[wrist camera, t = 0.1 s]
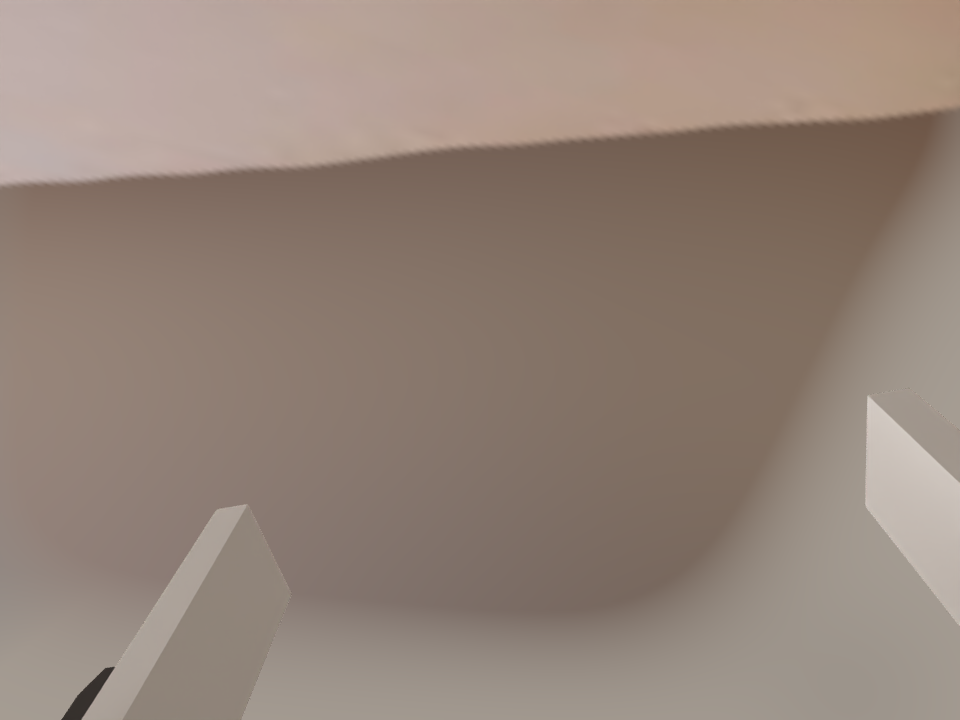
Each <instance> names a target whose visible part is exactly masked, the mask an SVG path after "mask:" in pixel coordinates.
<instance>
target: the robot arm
mask: <svg viewBox="0 0 960 720" xmlns="http://www.w3.org/2000/svg"><path fill="white" fill-rule="evenodd" d="M866 454H867V455H866V507H867V509H868V510H869V511H870V513H871V514H872V515H873V517H874V518H875V519H876V520H877V522H878V523H879V524H880V525H881V527H882V528H883V529H884V531H885V532H886V533H887V534H888V536H889V537H890V538H891V539H892V541H893V542H894V543H895V544H896V546H897V547H898V548H899V550H900V551H901V552H902V553H903V555H904V556H905V557H906V559H907V560H908V561H909V562H910V564H911V565H912V566H913V567H914V569H915V570H916V571H917V573H918V574H919V575H920V576H921V578H922V579H923V580H924V581H925V583H926V584H927V585H928V586H929V588H930V589H931V590H932V591H933V593H934V594H935V595H936V597H937V598H938V599H939V600H940V602H941V603H942V604H943V606H944V607H945V608H946V609H947V611H948V612H949V613H950V614H951V615H952V617H953V618H954V620H955V621H956V622H957V623H958V625H959V626H960V430H959V429H958V428H957V427H955V426H954V425H953V424H952V423H951V422H950V421H948V420H947V419H946V418H945V417H944V416H942V415H941V414H940V413H939V412H937V411H936V410H935V409H934V408H933V407H932V406H930V405H929V404H928V403H927V402H926V401H924V400H923V399H922V398H921V397H920V396H918V395H917V394H916V393H915V392H914V391H912V390H911V389H910V388H905V389H900V390H894V391H888V392H883V393H877V394H871V395H868V397H867V450H866ZM291 595H292V594H291V592H290V590H289V588H288V586H287V584H286V581H285V580H284V577H283V575H282V573H281V571H280V569H279V567H278V565H277V563H276V561H275V559H274V557H273V555H272V553H271V551H270V548H269V546H268V545H267V542H266V540H265V538H264V536H263V534H262V532H261V530H260V528H259V526H258V524H257V522H256V520H255V518H254V515H253V513H252V511H251V509H250V507H249V505H248V504H245V505H240V506H235V507H228V508H222V509H217V510H216V512H215V513H214V514H213V516H212V518H211V519H210V521H209V522H208V524H207V525H206V527H205V528H204V530H203V532H202V533H201V535H200V536H199V538H198V539H197V541H196V542H195V544H194V545H193V547H192V549H191V550H190V552H189V553H188V555H187V556H186V558H185V559H184V561H183V563H182V564H181V566H180V567H179V569H178V570H177V572H176V573H175V575H174V577H173V578H172V580H171V581H170V583H169V584H168V586H167V587H166V589H165V591H164V592H163V594H162V595H161V597H160V598H159V600H158V601H157V603H156V605H155V606H154V608H153V609H152V611H151V612H150V614H149V616H148V617H147V619H146V620H145V622H144V623H143V625H142V626H141V628H140V629H139V631H138V633H137V634H136V636H135V637H134V639H133V641H132V642H131V644H130V645H129V647H128V648H127V650H126V651H125V653H124V655H123V656H122V657H121V659H120V661H119V662H118V664H117V665H116V667H110V668H105V669H104V670H103V671H102V672H101V673H100V674H99V675H98V676H97V677H96V678H95V679H94V680H93V681H92V682H91V683H90V684H89V685H88V686H87V687H86V688H85V689H84V690H83V691H82V692H81V693H80V694H79V695H78V696H77V698H76V699H75V700H74V702H73V703H72V705H71V707H70V708H69V709H68V711H67V712H66V714H65V715H64V717H63V718H62V720H241V718H242V716H243V713H244V711H245V709H246V706H247V704H248V701H249V699H250V696H251V694H252V691H253V689H254V686H255V684H256V681H257V679H258V676H259V674H260V671H261V669H262V666H263V664H264V661H265V659H266V657H267V654H268V652H269V649H270V647H271V644H272V641H273V639H274V637H275V634H276V632H277V629H278V627H279V624H280V622H281V619H282V617H283V614H284V612H285V609H286V607H287V604H288V602H289V600H290V597H291Z"/></svg>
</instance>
